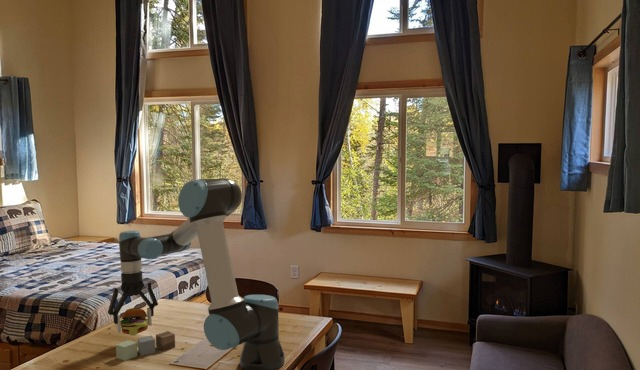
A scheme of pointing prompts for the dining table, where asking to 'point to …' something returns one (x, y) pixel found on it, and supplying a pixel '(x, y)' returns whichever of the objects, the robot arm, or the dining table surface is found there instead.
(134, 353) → the sage block
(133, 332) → the cheeseburger
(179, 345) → the dining table surface
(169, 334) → the walnut block
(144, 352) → the slate block
